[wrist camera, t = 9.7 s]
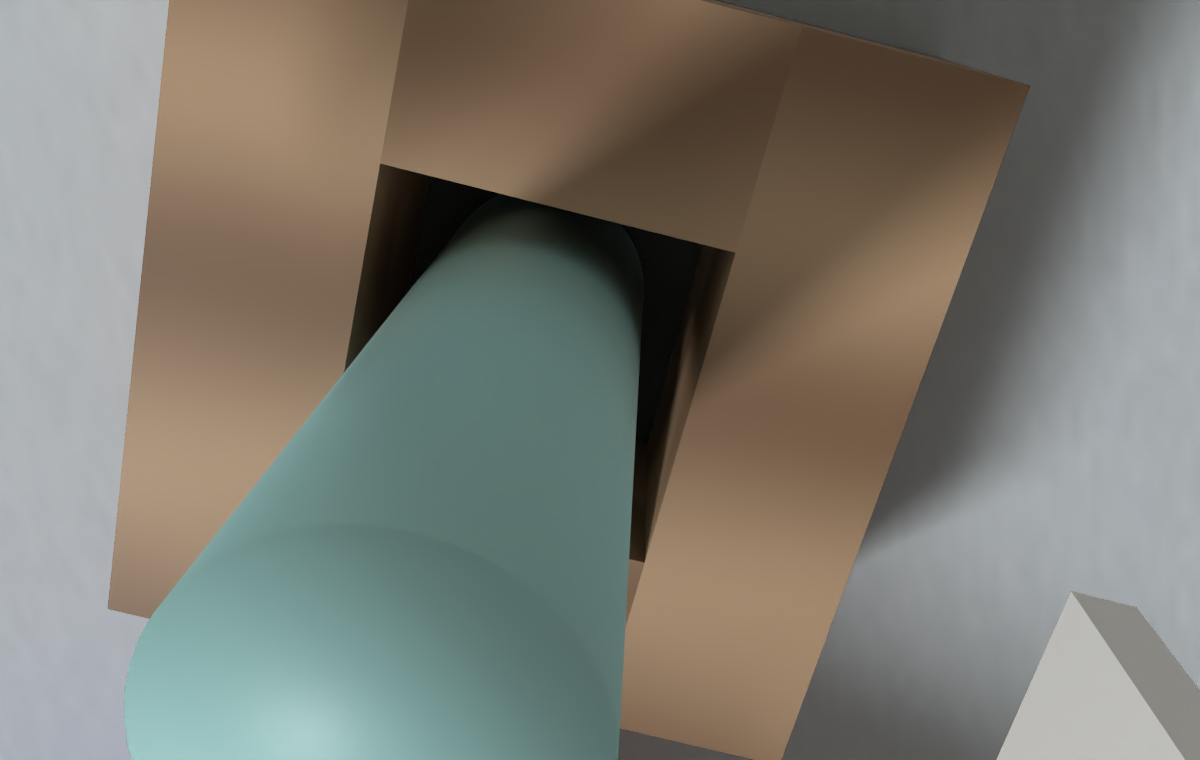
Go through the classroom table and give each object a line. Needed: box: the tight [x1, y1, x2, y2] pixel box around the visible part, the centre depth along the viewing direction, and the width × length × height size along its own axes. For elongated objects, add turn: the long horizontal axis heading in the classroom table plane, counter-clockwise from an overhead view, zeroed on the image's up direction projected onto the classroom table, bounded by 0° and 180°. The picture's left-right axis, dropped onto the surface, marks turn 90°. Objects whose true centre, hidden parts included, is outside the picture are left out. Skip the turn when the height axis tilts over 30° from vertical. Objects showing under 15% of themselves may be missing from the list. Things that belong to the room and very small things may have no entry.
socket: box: [108, 0, 1030, 760], centre depth 20 cm, size 12×12×5 cm
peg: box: [124, 194, 644, 760], centre depth 16 cm, size 4×4×14 cm
